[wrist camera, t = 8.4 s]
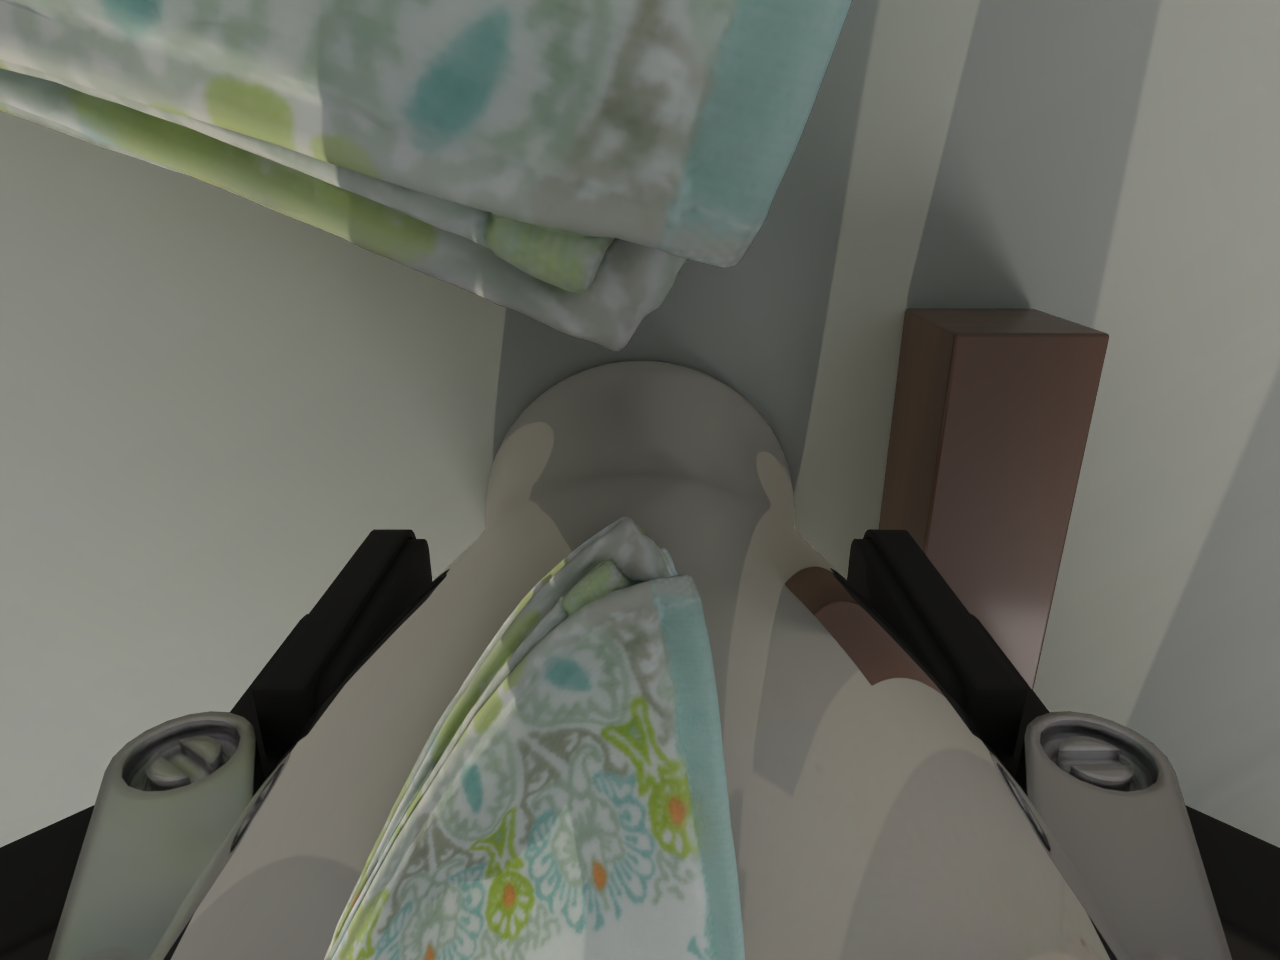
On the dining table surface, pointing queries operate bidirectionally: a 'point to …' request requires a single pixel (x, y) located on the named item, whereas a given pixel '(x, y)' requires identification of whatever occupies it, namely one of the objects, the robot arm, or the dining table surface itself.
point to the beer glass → (640, 739)
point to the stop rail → (992, 457)
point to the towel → (456, 126)
